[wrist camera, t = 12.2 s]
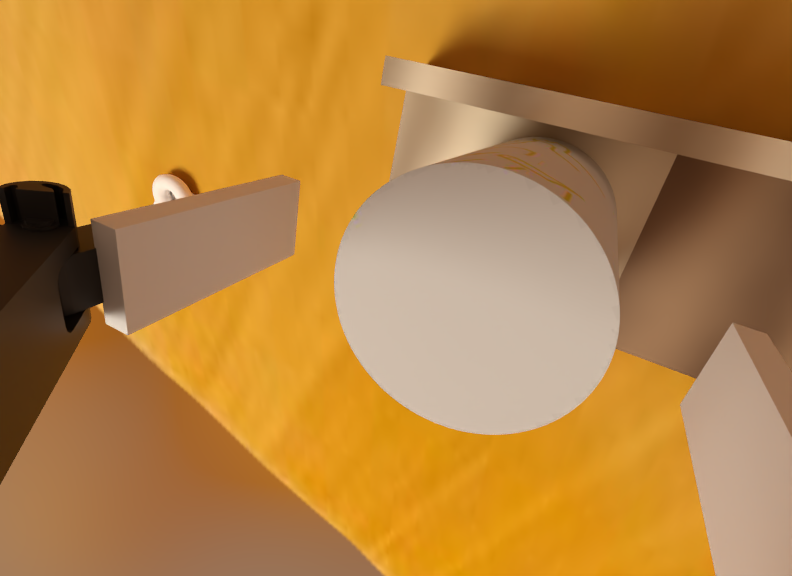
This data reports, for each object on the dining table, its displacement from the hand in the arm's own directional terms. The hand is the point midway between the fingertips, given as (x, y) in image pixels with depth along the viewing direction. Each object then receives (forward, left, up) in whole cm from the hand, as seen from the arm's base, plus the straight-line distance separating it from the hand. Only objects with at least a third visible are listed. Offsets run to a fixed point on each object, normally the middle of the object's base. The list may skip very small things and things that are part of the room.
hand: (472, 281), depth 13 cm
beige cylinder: (0, 0, -11) cm, 11 cm away
